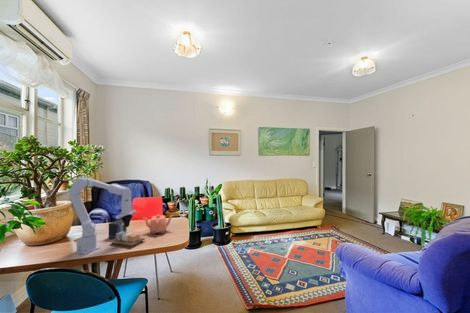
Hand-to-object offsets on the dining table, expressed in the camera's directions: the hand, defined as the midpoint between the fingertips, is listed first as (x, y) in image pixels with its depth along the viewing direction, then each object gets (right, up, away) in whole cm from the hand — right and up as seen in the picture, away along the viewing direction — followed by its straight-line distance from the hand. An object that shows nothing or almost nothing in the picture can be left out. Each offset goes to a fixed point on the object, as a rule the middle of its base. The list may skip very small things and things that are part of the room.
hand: (126, 226), depth 138 cm
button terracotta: (+7, -7, -4) cm, 11 cm away
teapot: (+15, -10, +17) cm, 25 cm away
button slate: (-3, -7, 0) cm, 8 cm away
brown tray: (+2, -10, -2) cm, 10 cm away
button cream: (+2, -7, -2) cm, 8 cm away
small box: (-12, -10, +10) cm, 19 cm away
